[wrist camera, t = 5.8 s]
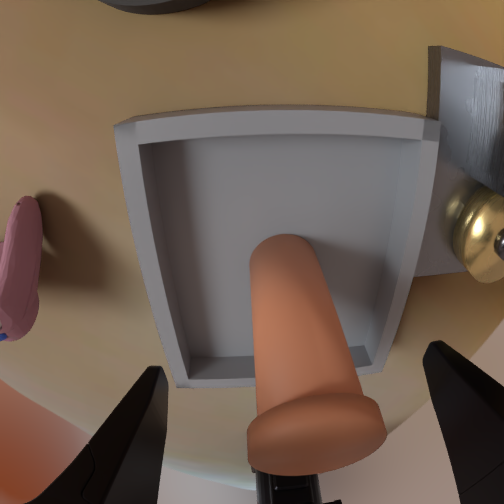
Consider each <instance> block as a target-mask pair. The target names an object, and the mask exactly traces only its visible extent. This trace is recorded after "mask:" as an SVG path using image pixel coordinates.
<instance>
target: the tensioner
mask: <svg viewBox="0 0 504 504" xmlns="http://www.w3.org/2000/svg"><path fill="white" fill-rule="evenodd" d="M426 117H428V118H432V119H435V120H438V121H441V127H440V138H439V147H438V155H437V163H436V170H435V177H434V183H433V189H432V195H431V201H430V206H429V211H428V217H427V222H426V226H425V231H424V236H423V240H422V244H421V249H420V253H419V257H418V261H417V265H416V269H415V272H414V276H413V277H418V276H428V275H438V274H447V273H456V272H465V271H468V272H469V273H470V274H471V275H472V276H473V277H474V278H475V279H476V280H477V281H479V282H482V283H491V282H495V281H498V280H500V279H502V278H503V277H504V67H502V66H500V65H497V64H494V63H492V62H489V61H487V60H484V59H481V58H478V57H475V56H472V55H469V54H466V53H463V52H460V51H457V50H454V49H450V48H447V47H444V46H428V98H427V115H426Z"/></svg>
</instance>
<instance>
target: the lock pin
mask: <svg viewBox="0 0 504 504" xmlns="http://www.w3.org/2000/svg"><path fill="white" fill-rule="evenodd" d="M249 268H250V287H251V306H252V325H253V344H254V362H255V381H256V399H257V417H256V418H255V419H254V420H253V421H252V422H251V424H250V425H249V427H248V429H247V448H248V462H249V464H250V465H251V466H252V467H253V468H255V469H257V470H259V471H261V472H265V473H268V474H274V475H283V476H301V475H311V474H318V473H323V472H328V471H332V470H336V469H339V468H342V467H345V466H348V465H350V464H353V463H355V462H357V461H359V460H361V459H363V458H365V457H367V456H369V455H370V454H372V453H373V452H374V451H376V450H377V449H378V448H379V447H380V446H381V445H382V444H383V443H384V441H385V440H386V437H387V431H386V428H385V425H384V421H383V418H382V415H381V412H380V409H379V406H378V404H377V403H376V402H375V401H374V400H373V399H371V398H369V397H367V396H364V395H363V392H362V388H361V385H360V382H359V379H358V375H357V372H356V369H355V366H354V363H353V360H352V357H351V353H350V350H349V347H348V344H347V341H346V338H345V335H344V332H343V329H342V326H341V323H340V320H339V318H338V315H337V312H336V309H335V306H334V303H333V300H332V297H331V295H330V292H329V289H328V286H327V283H326V281H325V278H324V275H323V272H322V270H321V267H320V264H319V262H318V259H317V256H316V254H315V251H314V249H313V247H312V246H311V245H310V244H309V243H308V242H307V241H306V240H305V239H303V238H301V237H299V236H296V235H291V234H279V235H275V236H272V237H269V238H267V239H265V240H264V241H262V242H261V243H260V244H259V245H258V246H257V247H256V248H255V249H254V251H253V252H252V254H251V257H250V262H249Z"/></svg>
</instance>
